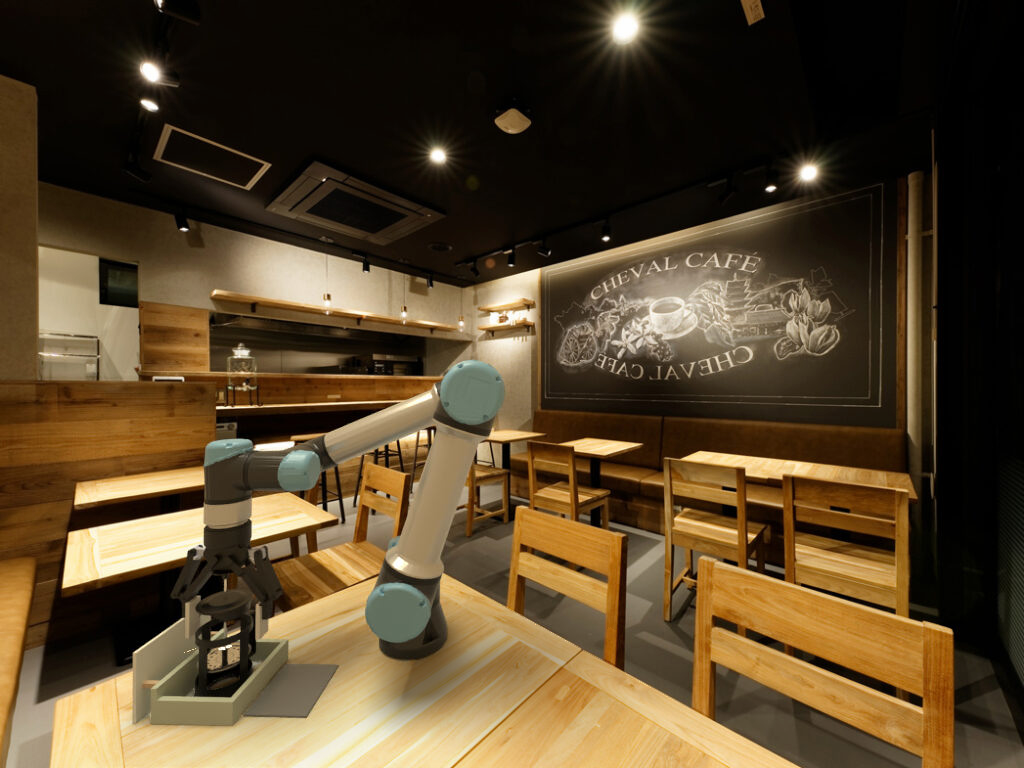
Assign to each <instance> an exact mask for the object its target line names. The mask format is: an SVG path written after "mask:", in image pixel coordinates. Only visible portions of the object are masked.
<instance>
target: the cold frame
mask: <svg viewBox="0 0 1024 768" xmlns="http://www.w3.org/2000/svg"><path fill="white" fill-rule="evenodd" d="M210 620H212V616H206V615H201V616H200V627H201V626H202V625H204V624H205V623H207V622H209V621H210ZM227 637H228V628H226V638H227ZM198 638H199V639H201V640H202V634H200V635H199V637H198ZM219 639H224V627H222V628H221V629H220V630H219V631H211V641H213V640H219ZM289 641H290V640H289V639H288V638H287V639H285V638H279V639H278V638H261V639H260V640H256V653H255V654H254V655H253V656H252V657H251V658H249V659H251V660H252V662H262V663H261V664H260V665H259V666H258V667H257V668H256V670H254V671H253V674H252V675H251V676H250V677H249V678H248V679H247V680H246V682H245V683H244V684H243V685H242V686H241V687H240V688H239V689H238V690H237V692H236V693H235V694H234V695H233V696H232V697H231V698H225V697H193V696H188V695H189V694H190V693H191V692H192V691H193V690H195V679H196V677H197V676H198V674H199V670H198V668H197V662H198V660H199V647H198V646H196V644H195V634H194V635H193V636H191V637H190V638H185V618H183V617H181V618H180V619H178V621H176V622H174V623H173V624H172V625H170V626H169V627H167V628H166V629H165V630H163V631H161V633H159V634H158V635H156V636H155V637H153V638H152V639H150V640H149V641H147V642H145V644H144V645H142V646H140V647H139V648H138V649H136V650H135V651H134V652H132V706H131V707H132V712H131V713H132V715H131V716H132V718H131V719H132V720H131V721H132V723H131V724H136V725H137V723H139V722H140V721H141V720H142V719H143V718H144V717H145V716H146V715H148V713H150V725H174V726H175V725H176V726H177V725H178V726H179V725H180V726H182V725H183V726H185V725H186V726H220V727H221V726H222V727H223V726H224V727H228V726H229V727H233V726H234V725H235V723H236V722H237V721H238V720H239V719H240V718H241V716H242V715H243V714H244V713H245V712H246V711H247V710H248V708H249V707H250V706H251V705H252V703H253V702H254V701H255V700H256V699H257V697H258V696H259V695H260V694H261V693H262V691H263V690H264V689H265V688H266V686H267V685H268V684H269V683H270V682H271V680H272V679H273V678H274V677H275V676H276V674H277V673H278V672H279V671H280V669H281V668H282V667H283V666H284V665H285V663H286V662H287V661H288V659H289V651H290V650H289V645H290V643H289ZM236 642H240V640H238V641H236ZM195 648H196V649H195ZM192 649H194V650H192ZM211 649H213V648H211ZM189 650H191V651H189ZM187 651H189V652H187ZM184 652H185V653H184Z"/></svg>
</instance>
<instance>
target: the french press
mask: <svg viewBox="0 0 1024 768" xmlns="http://www.w3.org/2000/svg"><path fill="white" fill-rule="evenodd" d="M233 572H234V571H232V570H225V569H220V570H213V571H212V575H213V576H216V577H217V576H219V577H220V576H222V580H223V583H224V584H223V586H224V587H223V590H222V591H219V592H215V593H213V594H211V595H208V596H206V597H205V598H203V599H202V600H201V601H200V602H199V603H198V604H197V605H196V607H195V611H196V613H198V617H200V616H201V615H206V616H211V618H212V619H211V620H210V621H209V622H207V623H205V624H204V625H202V626H201V627H200V628H199V629H198V630H197V631H196V633H195V644H196V646H198V647H199V660H198V662H197V668H198V670H199V674H198V676H197V677H196V679H195V688H194V692H193V693H194V694H193V696H192V697H225V698H231V697H232V696H233V695H234V694H235V693H236V692H237V690H238V689H239V688H240V687H241V686H242V685H243V684H244V683H245V682H246V680H247V679H248V678H249V677H250V676H251V675H252V674H253V673H254V663H253V661H252V660H251V659H249V658H251V657H252V656H253V655H254V654H255V653H256V640H255V637H256V609H251V602H252V600H253V599H254V593H253V592H252V591H251V590H250V589H249V588H248V589H247V588H233V589H227V588H228V587H227V586H228V585H227V581H228V579H229V575H230V574H234V573H233ZM232 621H233V622H234V621H239V622H240V630H239V631H240V632H237V633H236V634H233V635H230V636H227V638H226V629H227V622H232ZM220 624H223V628H224V639H219V640H213V641H211V632H212V628H213V627H215V626H218V625H220ZM200 634H202V640H201V639H199V638H198V637H199V635H200ZM238 640H240V642H236V641H238ZM211 648H213V649H211ZM231 676H239V677H238V679H237V680H235V681H233V682H231V683H229V684H227V685H224V686H220V687H216V688H215V687H214V688H208V687H210V685H212V684H213V683H215V682H216V681H219V680H221V679H223V678H226V677H227V678H228V677H231Z"/></svg>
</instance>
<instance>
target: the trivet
mask: <svg viewBox="0 0 1024 768" xmlns="http://www.w3.org/2000/svg"><path fill="white" fill-rule="evenodd" d="M339 666H340V664H333V663H331V664H330V663H329V664H328V663H326V664H325V663H321V664H320V663H286V662H285V663H284V664H283V665H282V667H281V668H280V669H279V670H278V672H277V673H276V674H275V675H274V676H273V678H272V679H271V680H270V681H269V682H268V684H267V685H266V686H265V687H264V688H263V690H262V691H261V692H260V693H259V694H258V696H257V697H256V698H255V699H254V701H253V702H252V703H251V704H250V705H249V707H248V708H247V709H246V710H245V711H244V713H243V714H242V715H243V717H250V718H251V717H252V718H253V717H255V718H257V717H259V718H262V717H263V718H265V717H266V718H294V719H295V718H299V719H306V718H308V715H310V713H311V711H312V709H313V708H314V706H315V705H316V703H317V702H318V700H319V698H321V695H322V694H323V692H324V690H325V689H326V687H327V686H328V684H329V682H331V679H332V678H333V676H334V674H335V673H336V671H337V669H338V667H339Z"/></svg>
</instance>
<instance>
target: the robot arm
mask: <svg viewBox="0 0 1024 768" xmlns="http://www.w3.org/2000/svg"><path fill="white" fill-rule="evenodd" d="M505 388H506V387H505V383H504V380H503V377H502V375H501V374H500V372H499V371H498V370H497V369H496V368H495V367H494V366H493V365H491V364H489V363H486V362H485V361H481V360H477V359H470V360H469V359H468V360H463V361H460V362H458V363H456V364H455V365H453V366H452V367H451V368H450V369H449V370H448V371H447V373H445V375H444V377H443V378H442V379H441V380H440V381H437V382H434V383H433V385H432V387H431V389H430V390H427V391H424V392H423V393H419V394H417V395H415V396H412V397H411V398H407V399H405V400H404V401H401V402H398V403H397V404H394V405H391V406H389V407H387V408H385V409H382V410H380V411H376V412H375V413H371V414H370V415H367V416H365V417H363V418H360V419H357V420H355V421H353V422H351V423H347V424H346V425H344V426H342V427H339V428H336V429H334V430H332V431H330V432H327V433H325V434H322V435H320V436H317V437H315V438H312V439H310V440H308V441H305V442H303V443H302V442H301V443H300V444H297V445H294V446H290V447H287V448H285V449H282V450H254V443H253V442H252V440H250V439H248V438H247V439H245V438H228V439H220V440H219V439H218V440H213V441H211V442H209V443H207V445H206V446H205V450H204V463H203V466H202V467H203V477H204V478H203V479H204V481H203V482H204V498H203V499H204V500H203V524H204V525H205V526H204V527H203V545H202V544H198V545H196V546H194V547H192V548H191V549H188V550H187V553H186V560H185V563H184V565H183V568H182V570H181V572H180V574H179V576H178V579H177V580H176V582H175V584H174V586H173V589H172V591H171V593H170V595H169V596H170V598H171V599H173V600H175V599H178V600H180V602H181V616H182V617H181V618H185V638H190V637H191V636H193V635H194V634H195V633H196V631H197V630H198V629H199V628H200V617H198V613H196V611H195V607H196V605H197V604H198V603H199V602H200V601H201V597H202V596H201V595H197V594H199V591H200V590H201V589H202V588H203V587H204V585H205V584H206V583H207V582H208V581H209V579H210V578H211V577H212V575H213V574H212V571H213V570H220V569H225V570H232V571H234V572H233V573H232V574H235V575H236V577H238V578H241V579H242V581H243V582H244V584H246V585H247V587H248V589H249V590H250V591H252V592H253V596H255V597H256V599H257V600H258V602H257V603H256V604H255V610H256V637H255V640H260V639H263V637H264V636H265V635H266V634H267V633H268V632H269V618H270V617H272V615H273V607H274V606H273V602H274V601H275V600H277V599H278V598H279V597H280V596H281V595H283V593H284V588H283V587H282V586H283V585H281V582H280V579H279V578H278V575H277V573H276V570H275V569H274V566H273V564H272V562H271V560H270V557H269V548H268V546H267V545H263V546H261V547H259V548H257V547H256V548H253V547H252V546H251V540H252V535H253V533H252V532H253V526H252V525H253V524H252V523H253V521H252V520H251V519H250V518H251V517H252V514H253V511H252V510H253V509H252V508H253V507H252V506H253V503H252V502H253V492H256V491H257V492H264V491H265V492H267V491H268V492H291V493H292V492H297V491H309V490H311V489H313V488H314V487H315V486H316V484H317V482H318V480H319V479H320V478H319V477H320V474H321V473H323V472H325V471H328V470H330V469H334V468H335V467H337V466H339V465H342V464H343V463H345V462H348V461H351V460H354V459H355V458H358V457H361V456H363V455H365V454H367V453H370V452H372V451H375V450H377V449H379V448H382V447H384V446H386V445H389V444H392V443H393V442H396V441H399V440H401V439H403V438H406V437H408V436H410V435H413V434H415V433H418V432H421V431H423V430H424V429H427V428H429V427H432V426H435V427H436V431H435V434H434V437H433V441H432V443H431V446H430V449H429V452H428V455H427V457H426V460H425V464H424V466H423V470H422V471H421V472H422V473H421V475H420V479H419V481H418V485H417V487H416V490H415V492H414V495H413V499H412V501H411V505H410V507H409V510H408V514H407V516H406V520H405V521H404V525H403V527H402V531H401V534H400V535H398V536H395V537H393V538H391V539H390V540H389V542H388V546H387V549H386V553H385V556H384V559H383V562H382V565H381V568H380V570H379V573H378V577H377V579H376V582H375V585H374V587H373V589H372V591H371V592H370V594H369V595H368V597H367V599H366V604H365V610H364V616H365V622H366V624H367V626H368V627H369V628H370V631H371V632H372V633H373V634H374V635H375V636H376V637H378V647H379V650H380V651H381V653H383V654H384V655H385V656H387V657H388V658H391V659H395V660H400V661H411V660H418V659H419V660H420V659H422V658H425V657H428V656H430V655H432V654H434V653H436V652H437V651H438V650H440V649H442V647H443V645H445V643H446V642H447V638H448V622H447V620H446V616H445V613H444V611H443V608H442V604H441V579H442V577H443V574H444V570H445V566H444V565H445V564H444V562H443V561H442V560H441V555H442V552H443V550H444V547H445V543H446V541H447V538H448V535H449V532H450V530H451V529H450V528H451V526H452V524H453V521H454V519H455V518H454V517H455V514H456V512H457V509H458V505H459V502H460V500H461V497H462V494H463V490H464V488H465V485H466V482H467V480H468V477H469V474H470V470H471V467H472V464H473V462H474V458H475V456H476V453H477V449H478V447H479V444H480V443H481V442H483V441H485V440H487V439H489V438H490V436H491V433H492V430H493V427H494V424H495V421H496V418H497V415H498V413H499V412H500V410H501V408H502V407H503V403H504V401H505V396H506V389H505ZM250 557H251V558H250ZM203 558H204V559H205V561H206V562H207V563H206V564H205V565H204V567H203V568H202V570H200V573H199V574H198V576H196V578H195V579H194V576H195V575H196V573H197V570H198V569H199V565H201V561H202V560H203ZM244 566H245V567H244ZM243 567H244V568H243ZM193 579H194V580H193ZM192 581H193V582H192Z"/></svg>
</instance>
